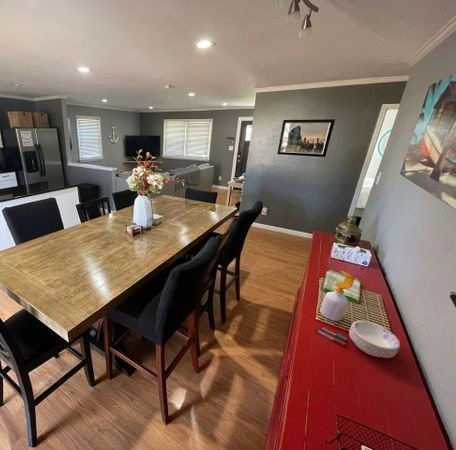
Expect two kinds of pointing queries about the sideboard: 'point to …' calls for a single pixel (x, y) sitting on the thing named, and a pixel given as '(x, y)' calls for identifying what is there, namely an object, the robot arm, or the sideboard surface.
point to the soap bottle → (336, 300)
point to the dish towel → (336, 277)
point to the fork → (335, 334)
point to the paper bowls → (374, 339)
